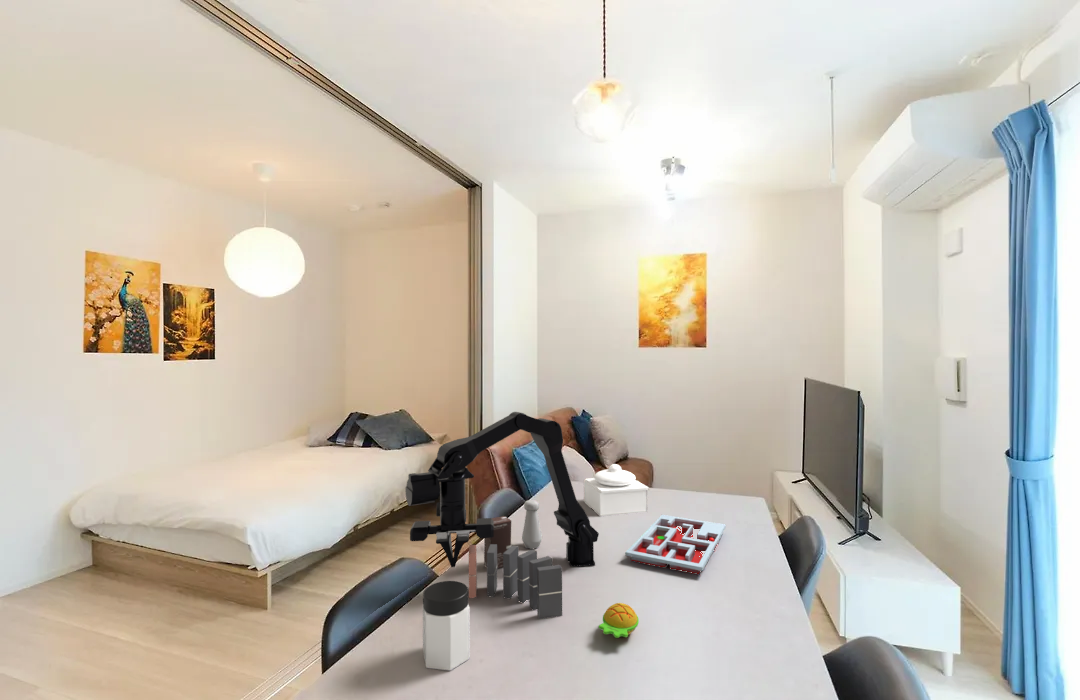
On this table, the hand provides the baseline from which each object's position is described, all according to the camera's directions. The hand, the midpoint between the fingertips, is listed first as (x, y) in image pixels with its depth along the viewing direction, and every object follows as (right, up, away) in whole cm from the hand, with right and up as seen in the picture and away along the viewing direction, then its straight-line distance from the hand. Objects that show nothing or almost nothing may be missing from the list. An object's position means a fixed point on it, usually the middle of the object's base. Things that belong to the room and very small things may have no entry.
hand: (453, 566), depth 114 cm
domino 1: (+4, -6, 0) cm, 8 cm away
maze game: (+60, -7, +26) cm, 66 cm away
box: (+9, -7, +15) cm, 19 cm away
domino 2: (+9, -6, +1) cm, 11 cm away
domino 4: (+17, -6, -2) cm, 18 cm away
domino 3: (+13, -6, 0) cm, 15 cm away
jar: (+3, -6, -24) cm, 25 cm away
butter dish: (+47, -7, +64) cm, 80 cm away
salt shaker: (+18, -7, +28) cm, 34 cm away
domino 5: (+20, -6, -6) cm, 22 cm away
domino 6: (+22, -6, -10) cm, 25 cm away
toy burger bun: (+35, -6, -18) cm, 40 cm away
